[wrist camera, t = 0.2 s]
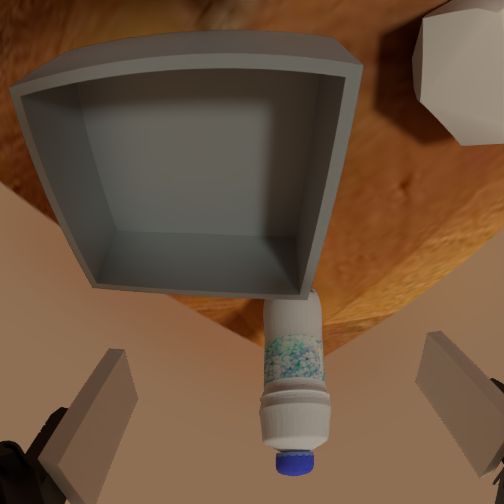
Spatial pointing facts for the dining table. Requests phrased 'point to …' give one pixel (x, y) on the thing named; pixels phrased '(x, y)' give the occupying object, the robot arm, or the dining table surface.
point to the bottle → (294, 383)
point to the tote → (194, 157)
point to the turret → (463, 69)
